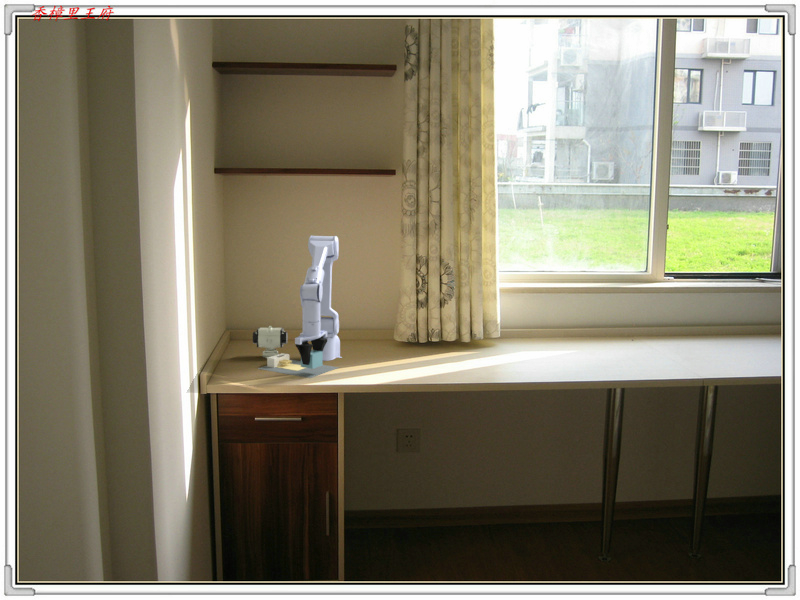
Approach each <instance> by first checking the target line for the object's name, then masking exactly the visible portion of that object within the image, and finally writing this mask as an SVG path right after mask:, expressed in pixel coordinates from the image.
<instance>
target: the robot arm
mask: <svg viewBox="0 0 800 600" xmlns="http://www.w3.org/2000/svg"><path fill="white" fill-rule="evenodd" d="M339 242H340V241H339V237H338V236H337V235H334V236H333V235H331V236H329V235H327V236H326V235H310V236H309V237H308V242H307V247H308V252H309V254H310V257H311V266H310V267H308V268H307V271H306V275H305V278H304V283H303V284H300V287H299V297H300V298H299V299H300V306H301V311H302V323H301V324H302V332H300V333H299V336H297V337H295V338H294V344H295V347H296V348H297V350H298V352H299V355H300V360H301V359H302V362H303V364H305V365H309V363H310V353H311V350H316V351H323V362H327V361H333V360H335V359H337V358H339V359H340V358H343V357H342V356H341V340H340V337H339V336H338V334H339V331H340V320H339V316H340V315H339V313H338V312H337V311H336V310H335V309H333V308H332V283H333V282H332V280H333V279H332V277H333V264H334V262H335V261H337V260H338V259H339V255H340V254H339V251H340V248H339V247H340V243H339Z"/></svg>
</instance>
